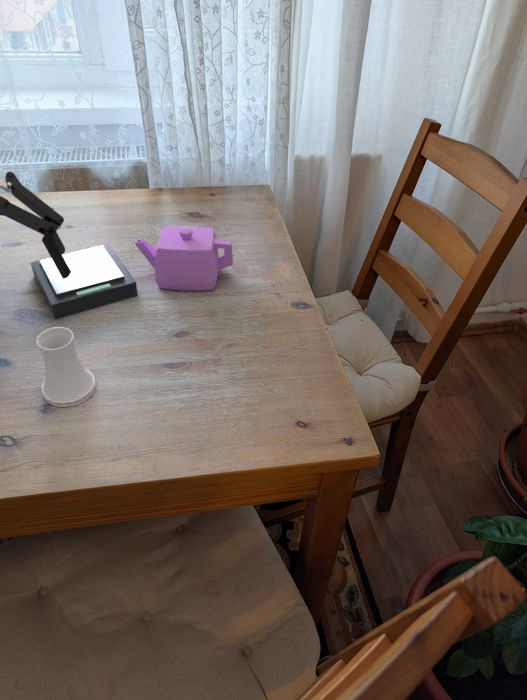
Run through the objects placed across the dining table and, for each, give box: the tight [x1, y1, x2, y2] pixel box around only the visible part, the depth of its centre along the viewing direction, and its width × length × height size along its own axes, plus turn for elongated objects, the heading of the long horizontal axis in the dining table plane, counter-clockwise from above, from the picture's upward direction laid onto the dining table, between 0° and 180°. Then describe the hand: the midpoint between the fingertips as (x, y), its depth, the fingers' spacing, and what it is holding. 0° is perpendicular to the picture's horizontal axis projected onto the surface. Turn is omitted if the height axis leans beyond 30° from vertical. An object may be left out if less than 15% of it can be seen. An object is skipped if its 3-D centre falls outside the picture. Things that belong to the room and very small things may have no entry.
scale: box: [30, 243, 139, 320], centre depth 97 cm, size 15×15×4 cm
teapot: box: [134, 225, 234, 292], centre depth 98 cm, size 18×10×10 cm, turn 91°
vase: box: [35, 326, 97, 408], centre depth 75 cm, size 8×8×10 cm
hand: (23, 293), depth 74 cm, fingers open, 13 cm apart
